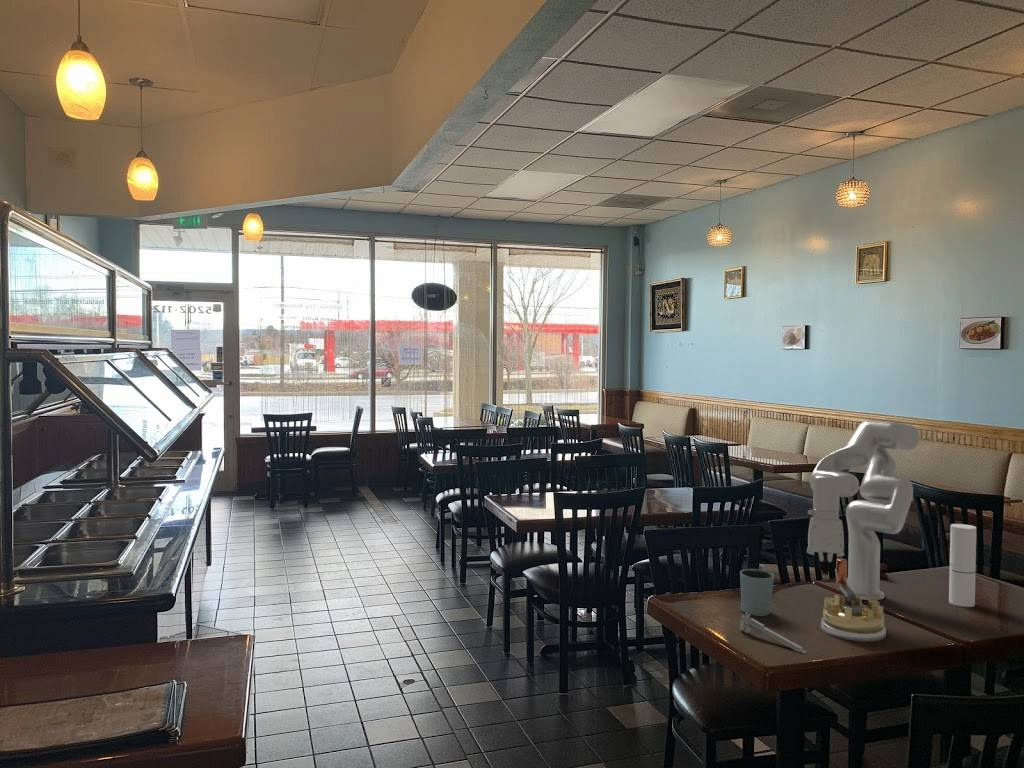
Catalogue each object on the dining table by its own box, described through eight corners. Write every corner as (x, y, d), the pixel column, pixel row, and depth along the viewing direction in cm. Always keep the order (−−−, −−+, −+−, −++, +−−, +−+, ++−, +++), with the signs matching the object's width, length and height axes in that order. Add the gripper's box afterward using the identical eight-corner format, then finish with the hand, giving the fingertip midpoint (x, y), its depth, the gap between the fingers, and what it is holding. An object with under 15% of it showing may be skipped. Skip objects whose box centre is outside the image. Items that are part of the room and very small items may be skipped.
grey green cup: (745, 604, 240) (746, 567, 239) (777, 610, 234) (778, 572, 233) (734, 612, 231) (735, 574, 231) (768, 619, 225) (768, 579, 225)
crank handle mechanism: (797, 615, 222) (798, 567, 222) (839, 603, 234) (840, 558, 233) (862, 636, 205) (863, 585, 205) (904, 622, 216) (905, 574, 216)
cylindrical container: (967, 600, 245) (969, 524, 244) (979, 607, 238) (980, 529, 237) (944, 599, 245) (946, 523, 245) (955, 606, 238) (957, 528, 238)
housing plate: (808, 627, 219) (808, 620, 219) (843, 617, 228) (843, 610, 228) (863, 646, 204) (863, 638, 204) (898, 634, 214) (898, 627, 214)
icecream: (844, 554, 278) (879, 567, 265) (858, 547, 281) (893, 560, 268) (845, 571, 280) (881, 585, 266) (859, 564, 283) (895, 577, 269)
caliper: (740, 632, 215) (740, 611, 215) (742, 631, 216) (742, 610, 216) (804, 655, 199) (804, 631, 199) (806, 654, 199) (807, 630, 199)
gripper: (800, 515, 231) (799, 574, 231) (853, 518, 226) (852, 579, 226) (799, 510, 238) (798, 568, 238) (850, 514, 233) (849, 572, 234)
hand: (825, 573), depth 232 cm, fingers closed
